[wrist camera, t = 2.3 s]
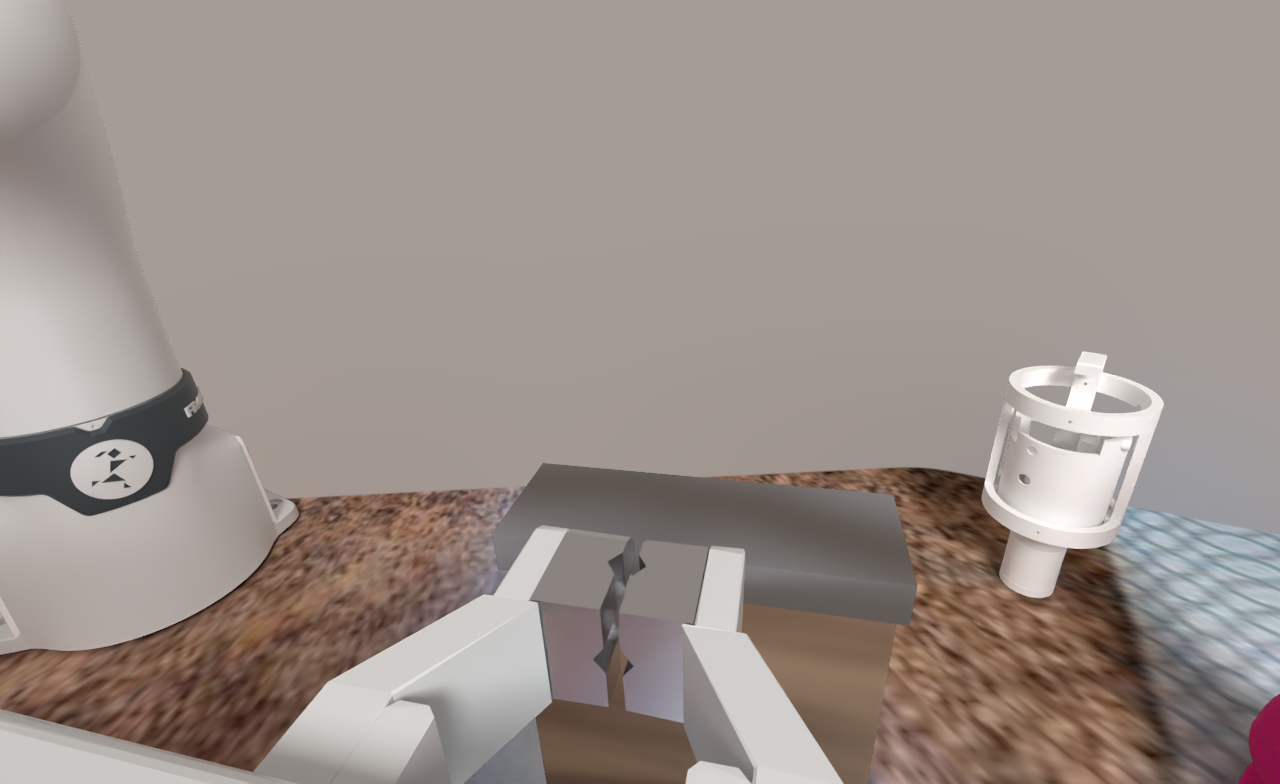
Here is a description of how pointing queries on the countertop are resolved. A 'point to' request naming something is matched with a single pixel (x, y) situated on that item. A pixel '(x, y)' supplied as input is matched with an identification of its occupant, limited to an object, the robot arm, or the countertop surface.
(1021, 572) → the white cylindrical cage holder
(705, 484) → the block
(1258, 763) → the pepper mill
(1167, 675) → the countertop surface
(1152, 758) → the countertop surface
